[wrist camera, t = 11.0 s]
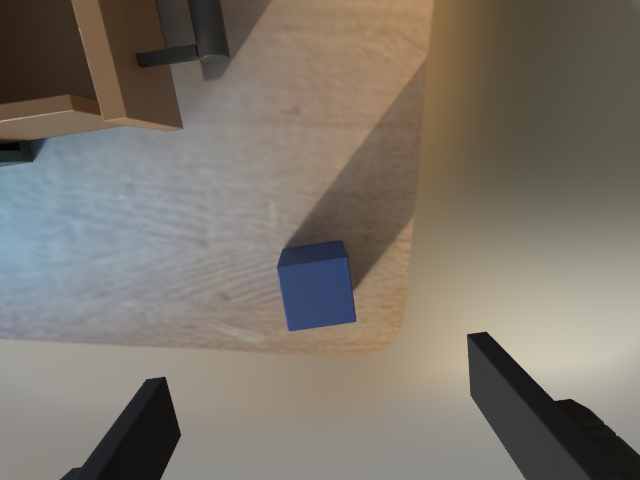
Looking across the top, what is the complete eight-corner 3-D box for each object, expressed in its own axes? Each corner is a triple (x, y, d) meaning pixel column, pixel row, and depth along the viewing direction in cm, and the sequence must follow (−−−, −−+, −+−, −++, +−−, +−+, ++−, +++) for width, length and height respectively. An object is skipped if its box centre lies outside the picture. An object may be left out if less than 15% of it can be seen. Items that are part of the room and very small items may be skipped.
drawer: (215, -96, 22) (165, -224, 15) (253, 118, 25) (227, 102, 17) (-113, -44, 23) (-328, -144, 15) (-39, 162, 25) (-190, 165, 18)
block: (349, 296, 29) (356, 322, 25) (291, 304, 29) (288, 331, 25) (342, 240, 28) (347, 256, 24) (282, 248, 28) (276, 266, 24)
